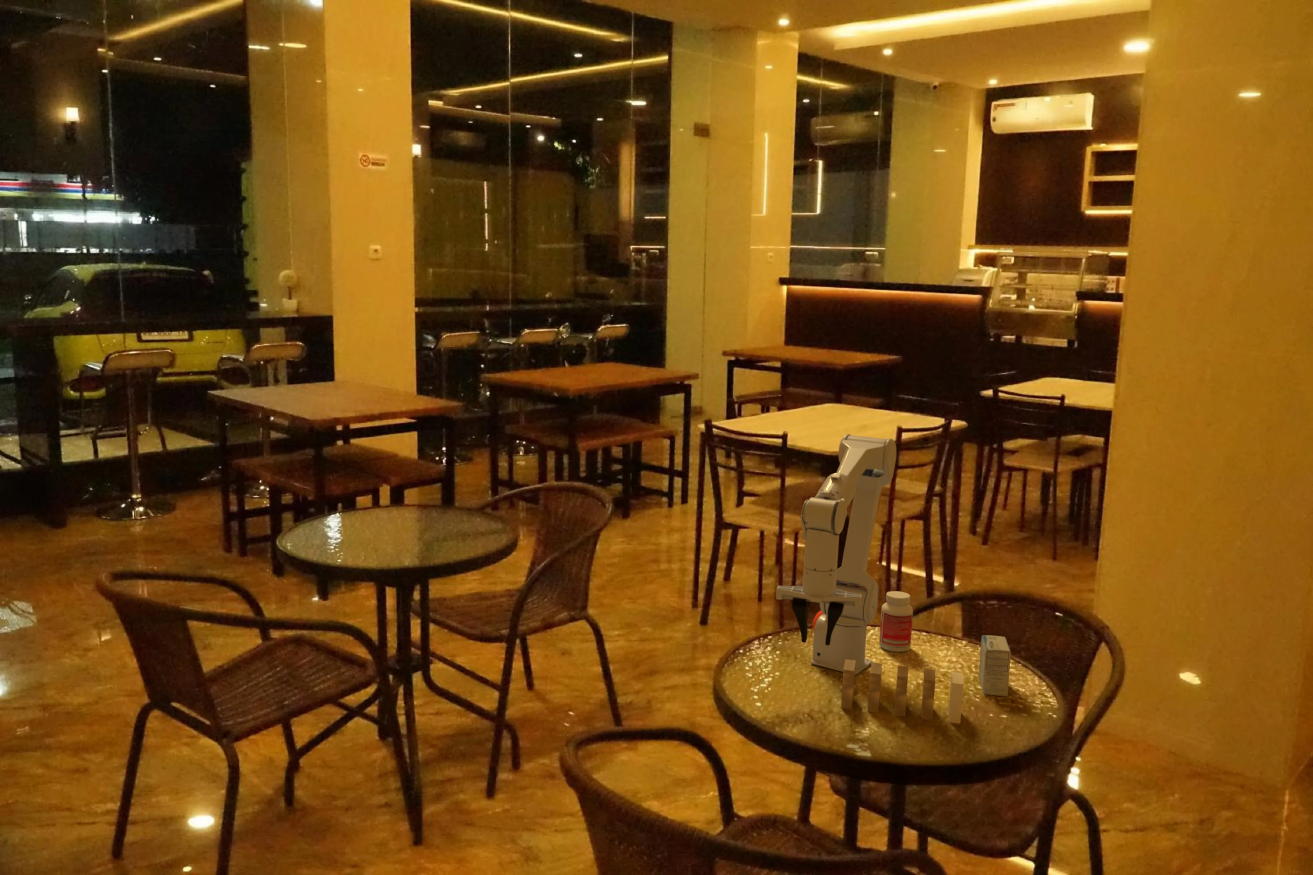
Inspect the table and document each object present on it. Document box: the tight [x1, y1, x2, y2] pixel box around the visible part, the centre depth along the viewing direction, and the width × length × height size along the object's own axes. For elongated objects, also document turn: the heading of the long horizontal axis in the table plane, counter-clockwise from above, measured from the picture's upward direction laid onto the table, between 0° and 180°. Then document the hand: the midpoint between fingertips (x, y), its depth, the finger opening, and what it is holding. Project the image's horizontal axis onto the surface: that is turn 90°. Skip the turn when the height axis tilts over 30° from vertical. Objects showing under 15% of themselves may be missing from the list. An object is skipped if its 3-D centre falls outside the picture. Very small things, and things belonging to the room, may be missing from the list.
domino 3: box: [894, 665, 909, 717], centre depth 179 cm, size 2×5×7 cm, turn 165°
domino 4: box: [921, 668, 936, 721], centre depth 178 cm, size 2×5×7 cm, turn 165°
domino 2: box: [867, 661, 883, 713], centre depth 180 cm, size 2×5×7 cm, turn 166°
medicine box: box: [978, 634, 1012, 697], centre depth 189 cm, size 8×4×9 cm, turn 168°
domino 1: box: [840, 659, 856, 710], centre depth 181 cm, size 2×5×7 cm, turn 166°
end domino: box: [948, 671, 964, 725], centre depth 177 cm, size 2×5×7 cm, turn 166°
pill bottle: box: [878, 590, 914, 653], centre depth 208 cm, size 6×6×11 cm
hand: (816, 641), depth 181 cm, fingers open, 3 cm apart
